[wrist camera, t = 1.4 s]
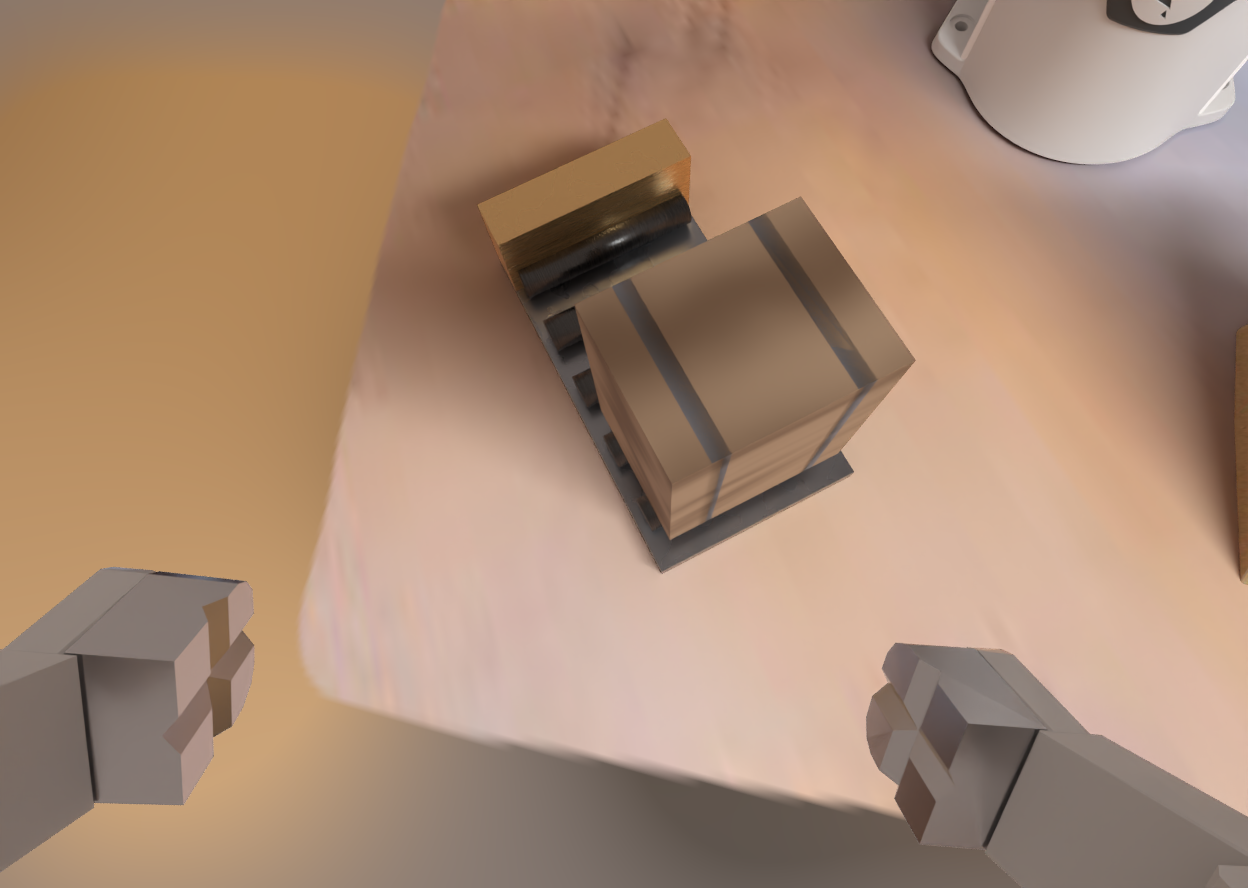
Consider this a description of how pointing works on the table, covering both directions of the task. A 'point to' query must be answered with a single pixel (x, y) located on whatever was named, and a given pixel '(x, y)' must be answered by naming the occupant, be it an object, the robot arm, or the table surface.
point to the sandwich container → (1242, 445)
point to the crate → (738, 364)
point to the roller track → (598, 259)
